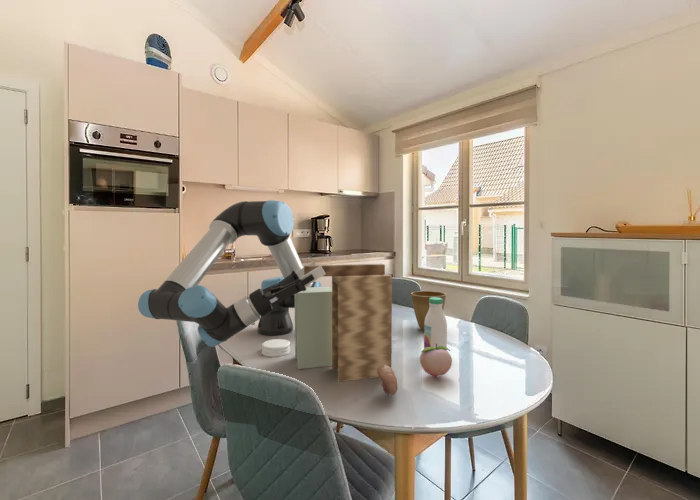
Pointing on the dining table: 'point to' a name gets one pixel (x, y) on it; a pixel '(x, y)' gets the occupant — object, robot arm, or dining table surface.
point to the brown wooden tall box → (361, 325)
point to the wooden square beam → (349, 269)
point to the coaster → (276, 347)
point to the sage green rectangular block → (313, 327)
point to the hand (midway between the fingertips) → (319, 267)
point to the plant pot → (424, 304)
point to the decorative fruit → (436, 360)
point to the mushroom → (387, 379)
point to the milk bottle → (435, 324)
